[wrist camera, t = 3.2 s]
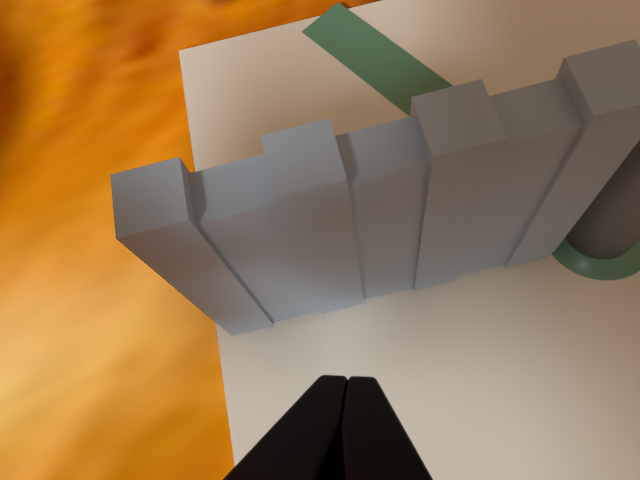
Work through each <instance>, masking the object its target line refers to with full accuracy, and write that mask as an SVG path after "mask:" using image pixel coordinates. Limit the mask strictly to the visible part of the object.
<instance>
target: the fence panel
mask: <svg viewBox="0 0 640 480" xmlns="http://www.w3.org/2000/svg"><path fill="white" fill-rule="evenodd" d="M260 137H261V142H262V146H263V151H264V154H262V155H259V156H255V157H251V158H247V159H243V160H239V161H235V162H231V163H228V164H224V165H220V166H216V167H212V168H208V169H204V170H200V171H197V172H193V173H190V172H189V170H188V169H187V167H186V166H185V164H184V163H183V161H182V160H181V158H180V157H177V158H174V159H170V160H166V161H162V162H158V163H154V164H150V165H147V166H143V167H139V168H135V169H131V170H127V171H123V172H119V173H116V174H112V175H111V185H112V197H113V209H114V221H115V233H116V239H117V240H118V241H120V242H121V243H122V244H123V245H124V246H125V247H127V248H128V249H129V250H130V251H131V252H133V253H134V254H135V255H136V256H137V257H139V258H140V259H141V260H142V261H143V262H144V263H146V264H147V265H148V266H149V267H150V268H152V269H153V270H154V271H155V272H156V273H158V274H159V275H160V276H161V277H162V278H163V279H165V280H166V281H167V282H168V283H169V284H171V285H172V286H173V287H174V288H175V289H176V290H178V291H179V292H180V293H181V294H182V295H184V296H185V297H186V298H187V299H188V300H190V301H191V302H192V303H193V304H194V305H195V306H197V307H198V308H199V309H200V310H201V311H203V312H204V313H205V314H206V315H207V316H209V317H210V318H211V319H212V320H213V321H214V322H216V323H217V324H218V325H219V326H220V327H222V328H223V329H224V330H225V331H226V332H227V333H229V334H230V335H231V336H232V337H234V336H237V335H241V334H245V333H249V332H253V331H257V330H261V329H265V328H269V327H273V326H274V323H275V322H279V321H283V320H287V319H291V318H295V317H299V316H303V315H307V314H311V313H314V312H318V311H322V313H323V314H325V313H329V312H333V311H337V310H341V309H345V308H349V307H353V306H357V305H361V304H364V303H365V301H364V300H366V299H370V298H374V297H378V296H382V295H386V294H390V293H394V292H398V291H402V290H406V289H410V288H413V290H414V291H416V290H420V289H424V288H428V287H432V286H436V285H440V284H444V283H448V282H452V281H456V279H457V277H458V276H461V275H465V274H469V273H473V272H477V271H481V270H485V269H489V268H493V267H497V266H501V265H505V268H507V267H511V266H515V265H519V264H523V263H527V262H531V261H535V260H539V259H543V258H547V257H549V255H550V254H551V253H553V252H554V251H555V250H556V248H557V247H558V246H559V245H560V243H561V242H562V241H563V239H564V238H565V237H566V235H567V234H568V233H569V231H570V230H571V229H572V228H573V226H574V225H575V224H576V222H577V221H578V220H579V218H580V217H581V216H582V214H583V213H584V212H585V211H586V209H587V208H588V207H589V205H590V204H591V203H592V201H593V200H594V199H595V197H596V196H597V195H598V194H599V192H600V191H601V190H602V188H603V187H604V186H605V184H606V183H607V182H608V180H609V179H610V178H611V176H612V175H613V174H614V173H615V171H616V170H617V169H618V167H619V166H620V165H621V163H622V162H623V161H624V159H625V158H626V157H627V156H628V154H629V153H630V152H631V150H632V149H633V148H634V146H635V145H636V144H637V142H638V141H639V140H640V46H639V44H638V43H637V41H636V39H634V40H630V41H626V42H622V43H618V44H615V45H611V46H607V47H603V48H599V49H595V50H591V51H588V52H584V53H580V54H576V55H572V56H568V57H564V59H563V62H562V64H561V66H560V69H559V71H558V73H557V76H556V78H555V79H553V80H549V81H546V82H542V83H538V84H534V85H530V86H526V87H522V88H518V89H515V90H511V91H507V92H503V93H499V94H495V95H491V96H489V94H488V92H487V90H486V87H485V85H484V83H483V80H482V79H479V80H475V81H471V82H468V83H464V84H460V85H456V86H452V87H448V88H444V89H441V90H437V91H433V92H429V93H425V94H421V95H417V96H413V97H411V113H410V117H406V118H402V119H398V120H394V121H390V122H387V123H383V124H379V125H375V126H371V127H367V128H363V129H359V130H356V131H352V132H348V133H344V134H340V135H336V136H335V134H334V131H333V127H332V124H331V120H330V118H328V119H324V120H321V121H317V122H313V123H309V124H305V125H301V126H297V127H294V128H290V129H286V130H282V131H278V132H274V133H270V134H266V135H263V136H260Z"/></svg>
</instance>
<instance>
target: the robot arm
mask: <svg viewBox="0 0 640 480" xmlns="http://www.w3.org/2000/svg"><path fill="white" fill-rule="evenodd" d="M223 480H433V478H432V477H431V475H430V473H429V471H428V470H427V468H426V466H425V464H424V462H423V461H422V459H421V457H420V455H419V454H418V452H417V450H416V448H415V447H414V445H413V443H412V441H411V439H410V438H409V436H408V434H407V432H406V431H405V429H404V427H403V425H402V423H401V422H400V420H399V418H398V416H397V415H396V413H395V411H394V409H393V408H392V406H391V404H390V402H389V400H388V399H387V397H386V395H385V393H384V392H383V390H382V388H381V386H380V384H379V383H378V381H377V380H376V378H374V377H367V376H351V377H350V378H349V379H347V377H345V376H342V375H321V376H320V377H318V379H317V380H316V381H315V382H314V383H313V384H312V385H311V386H310V387H309V388H308V389H307V390H306V391H305V392H304V393H303V395H302V396H301V397H300V398H299V399H298V400H297V401H296V402H295V403H294V404H293V405H292V406H291V407H290V408H289V409H288V410H287V412H286V413H285V414H284V415H283V416H282V417H281V418H280V419H279V420H278V421H277V422H276V423H275V424H274V425H273V426H272V428H271V429H270V430H269V431H268V432H267V433H266V434H265V435H264V436H263V437H262V438H261V439H260V440H259V441H258V442H257V443H256V445H255V446H254V447H253V448H252V449H251V450H250V451H249V452H248V453H247V454H246V455H245V456H244V457H243V458H242V459H241V461H240V462H239V463H238V464H237V465H236V466H235V467H234V468H233V469H232V470H231V471H230V472H229V473H228V474H227V475H226V476H225V478H224V479H223Z"/></svg>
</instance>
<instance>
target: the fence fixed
mask: <svg viewBox="0 0 640 480" xmlns="http://www.w3.org/2000/svg"><path fill="white" fill-rule="evenodd" d="M566 239H567V241H568V242H569V244H570V245H571V246H572V247H573V248H574V249H576V250H577V251H578V252H580V253H582V254H583V255H585V256H588V257H591V258H594V259H603V260H605V259H613V258H616V257H619V256H621V255H623V254H625V253H626V252H627V251H628V250H629V249H630V248H632V247H633V246H634V245H635V244H636V243H637V242H638V241H639V240H640V140H639V141H638V142H637V144H636V145H635V146H634V148H633V149H632V150H631V152H630V153H629V154H628V156H627V157H626V158H625V159H624V161H623V162H622V163H621V165H620V166H619V167H618V169H617V170H616V171H615V173H614V174H613V175H612V176H611V178H610V179H609V180H608V182H607V183H606V184H605V186H604V187H603V188H602V190H601V191H600V192H599V194H598V195H597V196H596V197H595V199H594V200H593V201H592V203H591V204H590V205H589V207H588V208H587V209H586V211H585V212H584V213H583V214H582V216H581V217H580V218H579V220H578V221H577V222H576V224H575V225H574V226H573V228H572V229H571V230H570V231H569V233H568V234H567V235H566Z"/></svg>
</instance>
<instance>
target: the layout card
mask: <svg viewBox="0 0 640 480" xmlns="http://www.w3.org/2000/svg"><path fill="white" fill-rule="evenodd" d="M634 39H636V41H637V43H638V44H639V46H640V0H382V1H378V2H374V3H370V4H366V5H362V6H357V7H353V8H349V9H347V8H346V7H344V6H343V5H342V4H340V3H339V2H338V3H336V4H335V5H334V6H333V7H331V8H330V9H329V10H328V11H326V12H325V13H324V14H323V15H321V16H317V17H313V18H309V19H305V20H301V21H297V22H293V23H289V24H285V25H281V26H277V27H273V28H269V29H265V30H261V31H257V32H253V33H249V34H245V35H240V36H236V37H232V38H228V39H224V40H220V41H216V42H212V43H208V44H204V45H200V46H196V47H192V48H188V49H184V50H180V51H179V56H180V63H181V70H182V78H183V85H184V93H185V100H186V108H187V115H188V122H189V130H190V137H191V145H192V152H193V160H194V167H195V172H197V171H200V170H204V169H208V168H212V167H216V166H220V165H224V164H228V163H231V162H235V161H239V160H243V159H247V158H251V157H255V156H259V155H262V154H264V151H263V146H262V142H261V137H260V136H263V135H266V134H270V133H274V132H278V131H282V130H286V129H290V128H294V127H297V126H301V125H305V124H309V123H313V122H317V121H321V120H324V119H328V118H330V120H331V124H332V127H333V131H334V134H335V136H336V135H340V134H344V133H348V132H352V131H356V130H359V129H363V128H367V127H371V126H375V125H379V124H383V123H387V122H390V121H394V120H398V119H402V118H406V117H410V113H411V97H413V96H417V95H421V94H425V93H429V92H433V91H437V90H441V89H444V88H448V87H452V86H456V85H460V84H464V83H468V82H471V81H475V80H479V79H482V80H483V83H484V85H485V87H486V90H487V92H488V94H489V96H491V95H495V94H499V93H503V92H507V91H511V90H515V89H518V88H522V87H526V86H530V85H534V84H538V83H542V82H546V81H549V80H553V79H555V78H556V76H557V73H558V71H559V69H560V66H561V64H562V62H563V59H564V57H568V56H572V55H576V54H580V53H584V52H588V51H591V50H595V49H599V48H603V47H607V46H611V45H615V44H618V43H622V42H626V41H630V40H634ZM364 301H365V303H364V304H361V305H357V306H353V307H349V308H345V309H341V310H337V311H333V312H329V313H325V314H323V313H322V311H318V312H314V313H311V314H307V315H303V316H299V317H295V318H291V319H287V320H283V321H279V322H275V323H274V326H273V327H269V328H265V329H261V330H257V331H253V332H249V333H245V334H241V335H237V336H234V337H232V336H231V335H230V334H229V333H227V332H226V331H225V330H224V329H223V328H222V327H220V326H219V325H218V324H217V323H216V322H215V323H216V330H217V338H218V345H219V353H220V360H221V367H222V375H223V382H224V390H225V397H226V405H227V412H228V419H229V427H230V434H231V442H232V449H233V457H234V464H235V466H236V465H237V464H238V463H239V462H240V461H241V459H242V458H243V457H244V456H245V455H246V454H247V453H248V452H249V451H250V450H251V449H252V448H253V447H254V446H255V445H256V443H257V442H258V441H259V440H260V439H261V438H262V437H263V436H264V435H265V434H266V433H267V432H268V431H269V430H270V429H271V428H272V426H273V425H274V424H275V423H276V422H277V421H278V420H279V419H280V418H281V417H282V416H283V415H284V414H285V413H286V412H287V410H288V409H289V408H290V407H291V406H292V405H293V404H294V403H295V402H296V401H297V400H298V399H299V398H300V397H301V396H302V395H303V393H304V392H305V391H306V390H307V389H308V388H309V387H310V386H311V385H312V384H313V383H314V382H315V381H316V380H317V379H318V377H320V376H321V375H342V376H345V377H347V379H349V378H350V377H351V376H367V377H374V378H376V380H377V381H378V383H379V384H380V386H381V388H382V390H383V392H384V393H385V395H386V397H387V399H388V400H389V402H390V404H391V406H392V408H393V409H394V411H395V413H396V415H397V416H398V418H399V420H400V422H401V423H402V425H403V427H404V429H405V431H406V432H407V434H408V436H409V438H410V439H411V441H412V443H413V445H414V447H415V448H416V450H417V452H418V454H419V455H420V457H421V459H422V461H423V462H424V464H425V466H426V468H427V470H428V471H429V473H430V475H431V477H432V478H433V480H640V240H639V241H638V242H637V243H636V244H635V245H634V246H633V247H632V248H630V249H629V250H628V251H627V252H626V253H625V254H623V255H621V256H619V257H616V258H613V259H605V260H603V259H594V258H591V257H588V256H585V255H583V254H582V253H580V252H578V251H577V250H576V249H574V248H573V247H572V246H571V245H570V244H569V242H568V241H567V239H566V237H565V238H564V239H563V241H562V242H561V243H560V245H559V246H558V247H557V248H556V250H555V251H554V252H553V253H551V254H550V255H549V257H547V258H543V259H539V260H535V261H531V262H527V263H523V264H519V265H515V266H511V267H507V268H505V265H501V266H497V267H493V268H489V269H485V270H481V271H477V272H473V273H469V274H465V275H461V276H458V277H457V279H456V281H452V282H448V283H444V284H440V285H436V286H432V287H428V288H424V289H420V290H416V291H414V290H413V288H410V289H406V290H402V291H398V292H394V293H390V294H386V295H382V296H378V297H374V298H370V299H366V300H364Z"/></svg>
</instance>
